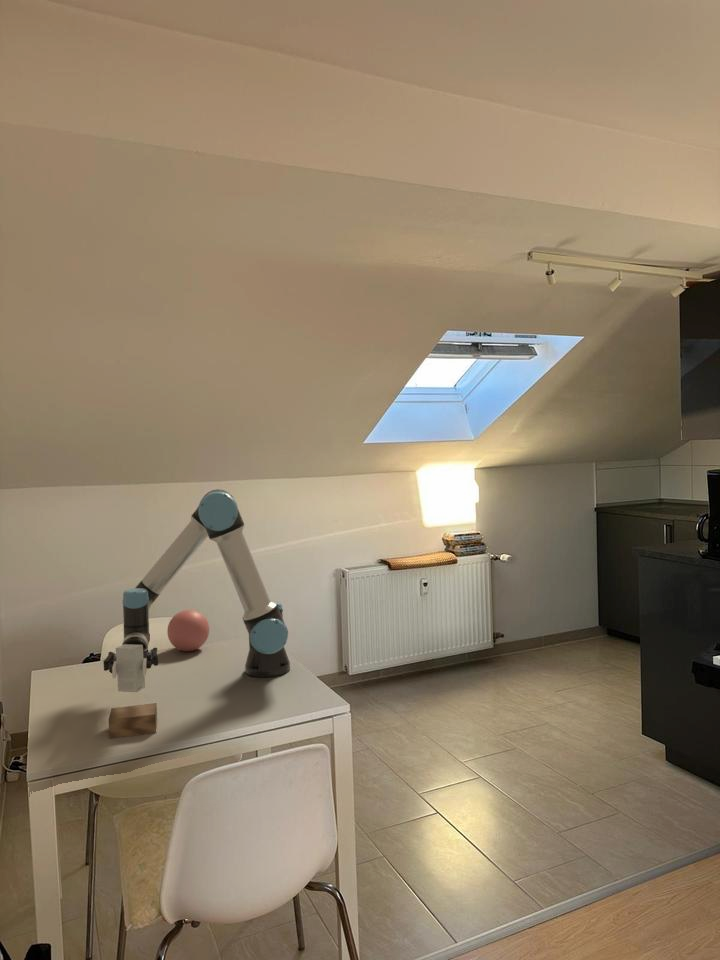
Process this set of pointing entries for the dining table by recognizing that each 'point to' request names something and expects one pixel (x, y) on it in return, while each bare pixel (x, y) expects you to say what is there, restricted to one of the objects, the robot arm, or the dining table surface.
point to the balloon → (188, 630)
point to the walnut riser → (132, 720)
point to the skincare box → (130, 668)
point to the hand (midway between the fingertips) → (129, 671)
